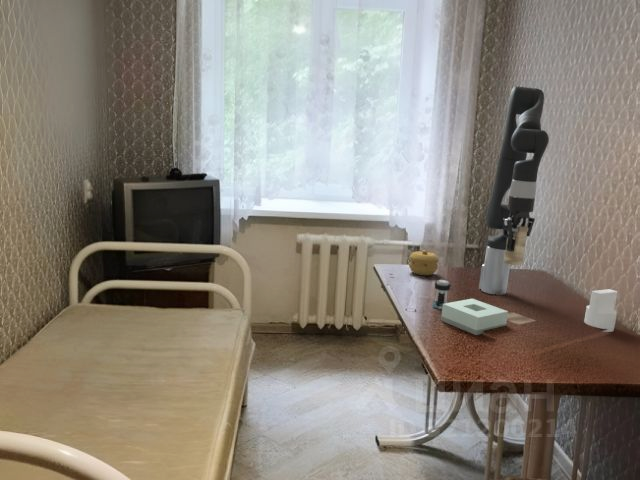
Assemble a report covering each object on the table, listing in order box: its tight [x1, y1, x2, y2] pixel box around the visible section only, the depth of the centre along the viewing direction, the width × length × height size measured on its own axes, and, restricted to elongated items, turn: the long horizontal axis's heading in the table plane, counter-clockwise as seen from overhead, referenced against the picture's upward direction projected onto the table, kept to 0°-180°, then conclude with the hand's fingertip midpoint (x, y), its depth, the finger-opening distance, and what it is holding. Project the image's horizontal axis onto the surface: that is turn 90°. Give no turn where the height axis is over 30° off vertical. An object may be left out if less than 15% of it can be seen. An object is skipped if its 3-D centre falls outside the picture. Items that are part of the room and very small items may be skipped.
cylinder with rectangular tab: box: [583, 288, 619, 333], centre depth 193 cm, size 9×9×12 cm
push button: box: [432, 279, 452, 310], centre depth 198 cm, size 7×5×10 cm
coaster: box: [507, 311, 537, 326], centre depth 194 cm, size 9×9×1 cm
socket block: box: [440, 298, 509, 336], centre depth 187 cm, size 14×14×6 cm
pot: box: [408, 249, 439, 276], centre depth 245 cm, size 12×12×10 cm
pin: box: [504, 226, 528, 266], centre depth 186 cm, size 4×4×12 cm
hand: (514, 250), depth 187 cm, fingers closed on pin, 4 cm apart
